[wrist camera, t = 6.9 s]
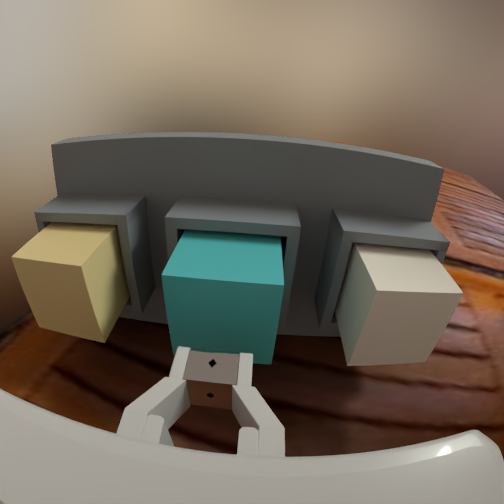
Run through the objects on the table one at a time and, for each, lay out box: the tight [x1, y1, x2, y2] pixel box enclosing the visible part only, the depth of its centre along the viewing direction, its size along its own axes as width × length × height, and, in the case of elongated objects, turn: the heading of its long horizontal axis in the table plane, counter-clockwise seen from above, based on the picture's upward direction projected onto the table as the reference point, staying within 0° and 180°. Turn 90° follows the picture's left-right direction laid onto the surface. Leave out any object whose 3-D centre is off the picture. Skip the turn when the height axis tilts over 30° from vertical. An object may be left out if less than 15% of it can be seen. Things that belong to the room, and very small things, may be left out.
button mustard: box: [12, 222, 130, 343], centre depth 15 cm, size 5×4×5 cm
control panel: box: [35, 132, 450, 337], centre depth 19 cm, size 25×5×14 cm, turn 88°
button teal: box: [161, 229, 284, 364], centre depth 15 cm, size 5×4×5 cm
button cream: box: [335, 242, 463, 366], centre depth 15 cm, size 5×4×5 cm
